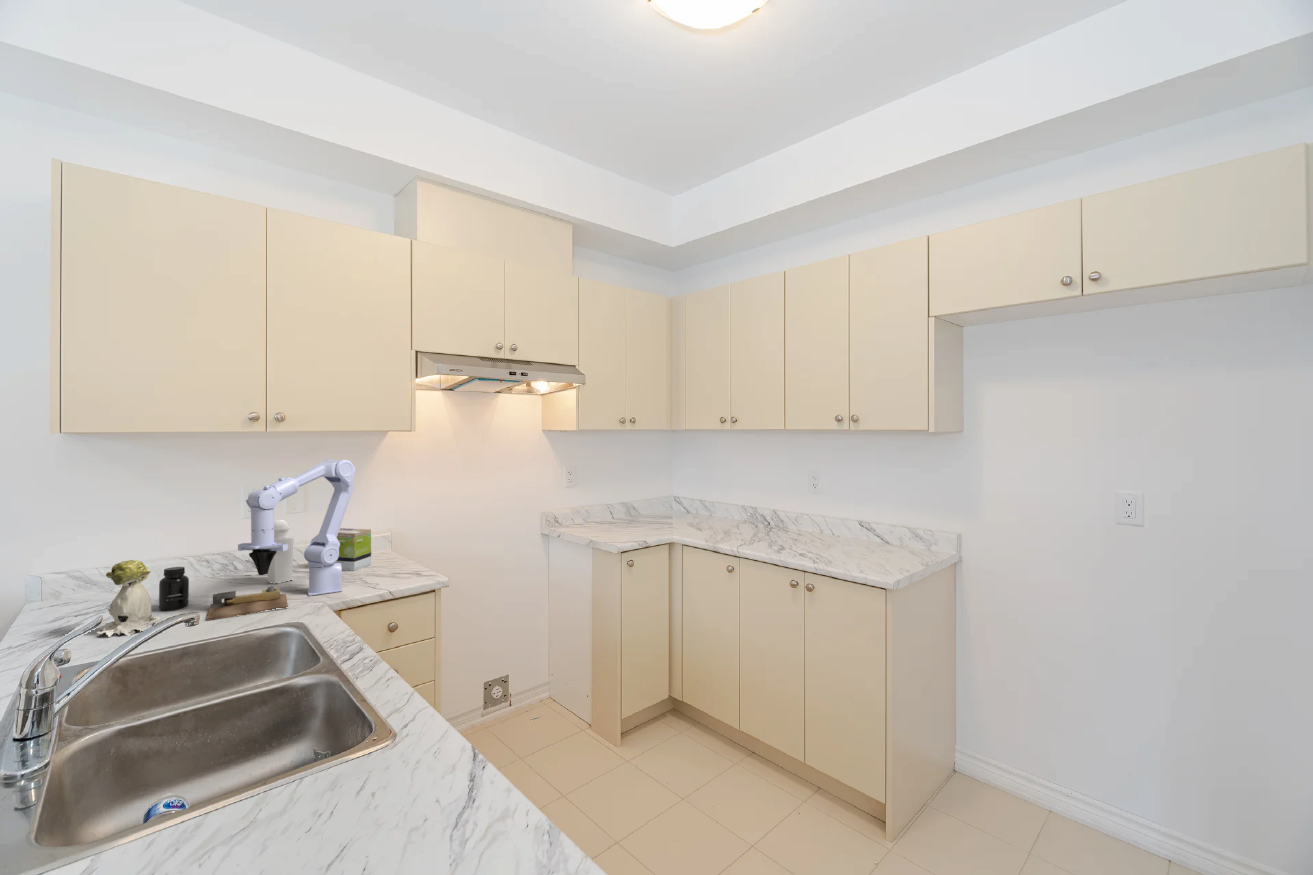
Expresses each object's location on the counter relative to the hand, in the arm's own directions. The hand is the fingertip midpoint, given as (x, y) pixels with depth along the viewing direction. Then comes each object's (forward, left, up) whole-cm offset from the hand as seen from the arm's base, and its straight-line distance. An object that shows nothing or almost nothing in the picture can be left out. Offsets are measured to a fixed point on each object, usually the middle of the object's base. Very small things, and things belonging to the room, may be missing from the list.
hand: (263, 574), depth 171 cm
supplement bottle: (+22, -15, -10) cm, 28 cm away
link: (+3, -6, -9) cm, 11 cm away
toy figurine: (+30, +2, -10) cm, 32 cm away
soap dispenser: (-5, -33, -10) cm, 35 cm away
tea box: (-27, -43, -10) cm, 52 cm away
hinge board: (+4, -2, -10) cm, 11 cm away
